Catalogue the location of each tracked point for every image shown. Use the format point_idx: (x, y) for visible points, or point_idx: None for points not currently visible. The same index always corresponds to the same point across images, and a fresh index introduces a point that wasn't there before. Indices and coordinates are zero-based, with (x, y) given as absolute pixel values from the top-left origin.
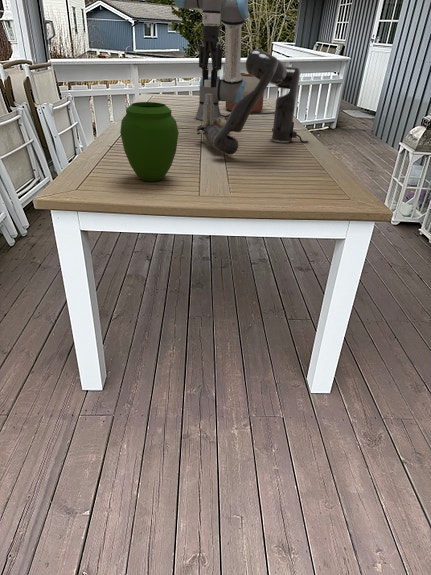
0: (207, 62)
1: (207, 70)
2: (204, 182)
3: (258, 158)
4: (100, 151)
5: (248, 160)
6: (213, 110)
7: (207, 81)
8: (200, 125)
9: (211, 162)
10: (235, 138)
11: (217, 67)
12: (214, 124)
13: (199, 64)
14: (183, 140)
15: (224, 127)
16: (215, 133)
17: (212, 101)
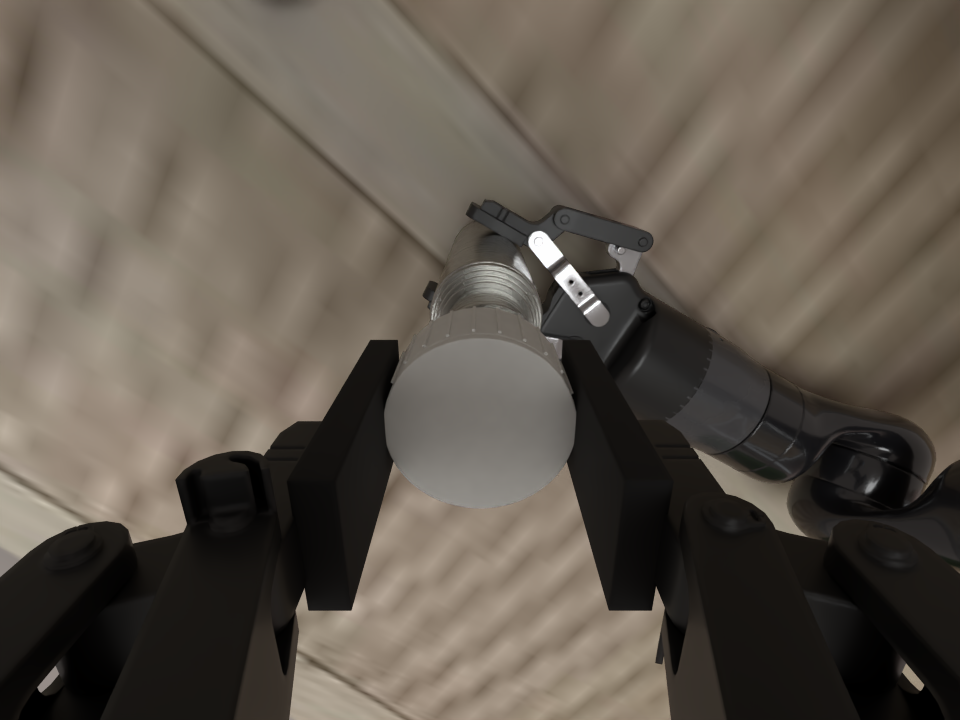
0: (250, 687)
1: (341, 502)
2: (908, 671)
3: (942, 274)
4: (361, 715)
5: (912, 351)
6: (529, 275)
7: (514, 495)
8: (430, 300)
9: (782, 510)
10: (924, 453)
11: (895, 698)
12: (648, 369)
13: (80, 713)
14: (363, 342)
15: None
16: (768, 479)
17: (517, 298)
